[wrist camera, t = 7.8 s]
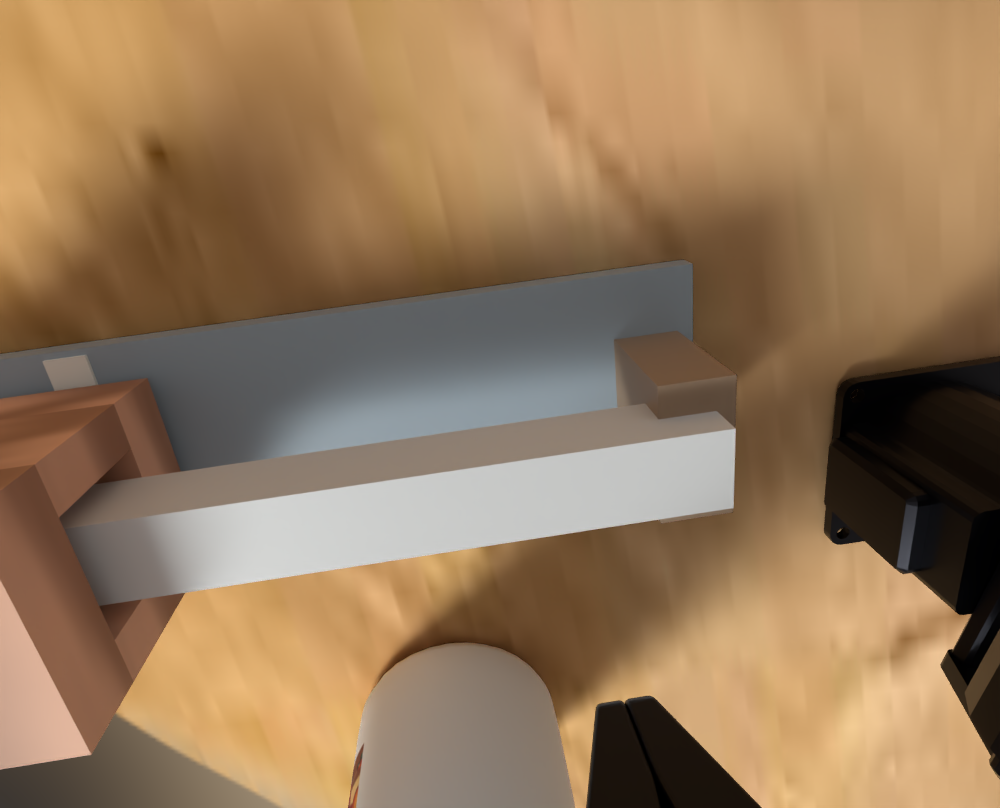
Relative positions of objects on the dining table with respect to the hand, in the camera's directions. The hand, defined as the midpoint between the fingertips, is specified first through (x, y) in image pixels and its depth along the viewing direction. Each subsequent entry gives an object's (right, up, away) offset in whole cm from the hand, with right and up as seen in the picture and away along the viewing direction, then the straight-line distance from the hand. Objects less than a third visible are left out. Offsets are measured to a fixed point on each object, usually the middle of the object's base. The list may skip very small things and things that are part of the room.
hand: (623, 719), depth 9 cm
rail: (-8, +4, +11) cm, 14 cm away
